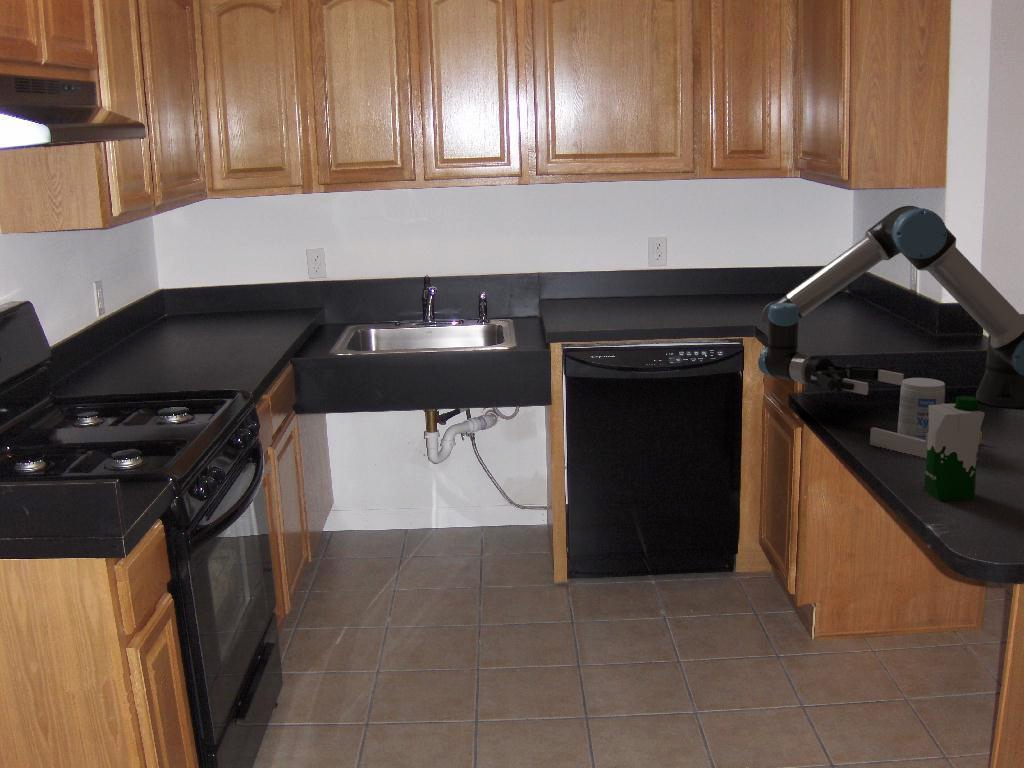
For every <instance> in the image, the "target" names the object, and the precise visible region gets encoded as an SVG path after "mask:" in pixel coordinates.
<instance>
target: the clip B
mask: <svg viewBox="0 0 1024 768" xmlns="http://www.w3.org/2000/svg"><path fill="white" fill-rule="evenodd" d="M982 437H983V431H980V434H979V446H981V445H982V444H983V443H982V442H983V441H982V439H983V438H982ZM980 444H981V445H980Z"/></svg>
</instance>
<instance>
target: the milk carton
mask: <svg viewBox="0 0 1024 768" xmlns="http://www.w3.org/2000/svg"><path fill="white" fill-rule="evenodd" d="M978 403H979V401H978V398H976V396H972V395H957V396H956V397H955V403H944V404H940V405H928V406H929V432H928V446H927V459H925V460H926V461H925V474H924V486H923V489H925V490H924V491H925V492H927V491H928V492H929V494H930V493H931V494H930V495H931V496H933V498H935V499H937V501H940V502H948V501H969V500H975V495H976V480H977V479H976V477H977V467H978V465H977V464H978V455H979V446H980V445H979V434H980V432H981V429H982V428H981V427H982V426H983V425H982V424H983V422H984V421H983V420H984V417H985V412H984V411H982V410H981V409H980V408H979V407H978ZM978 445H979V446H978ZM928 492H927V493H928Z"/></svg>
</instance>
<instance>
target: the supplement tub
mask: <svg viewBox="0 0 1024 768" xmlns="http://www.w3.org/2000/svg"><path fill="white" fill-rule="evenodd" d="M899 394H900V395H899V407H898V408H899V409H898V421H897V432H896V433H899V434H903V435H907V436H911V437H915V438H919V439H923V440H926V433H928V432H929V406H928V405H940V404H945V399H946V398H945V397H946V383H945V382H944V381H942V380H939V379H935V378H926V377H910V378H909V377H908V378H905V379H904V378H903V381H902V385H900V393H899Z"/></svg>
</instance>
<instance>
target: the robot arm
mask: <svg viewBox="0 0 1024 768" xmlns="http://www.w3.org/2000/svg"><path fill="white" fill-rule="evenodd" d="M900 254H902V255H903V256H904V257H905V259H907V260H908V261H909V262H910V264H912V265H913V266H914V268H915V269H916V270H917V271H927V272H928V273H929V274H930V275H931V276H932V277H933V278H934V279H935V280H936V281H937V282H938V283H939V284H940V285H941V286H942V288H943V289H945V291H946V292H948V294H949V295H950V296H951V297H952V298H953V299H954V300H955V301H956V302H957V303H958V304H959V305H960V306H961V307H962V308H963V310H965V311H966V312H967V313H968V314H969V316H971V318H972V319H973V320H974V321H975V322H976V323H977V324H978V325H979V326H980V327H981V328H982V329H983V330H984V331H985V332H986V333H987V334H988V340H987V351H986V352H987V353H986V363H985V372H984V375H983V377H982V379H981V382H980V384H979V387H978V388H977V389H976V393H975V394H976V395H975V397H976V398H978V402H979V401H980V403H981V402H982V404H984V403H985V405H987V406H988V405H989V406H993V407H1001V408H1009V409H1011V408H1012V409H1013V408H1014V409H1024V313H1020V312H1019V311H1017V309H1016V308H1015V307H1014V306H1013V305H1012V304H1011V303H1010V302H1009V301H1008V299H1006V298H1005V297H1004V296H1003V295H1002V294H1001V293H1000V292H999V290H997V288H996V287H995V286H993V284H992V283H991V282H990V281H989V280H988V279H987V278H986V277H985V276H984V275H983V274H982V273H981V271H979V269H977V267H976V266H975V265H973V264H972V263H971V262H970V260H969V259H968V258H967V257H966V256H965V255H964V254H963V253H962V252H961V251H960V250H959V249H958V248H957V237H956V236H955V235H954V234H953V232H951V231H950V230H949V229H948V228H947V226H946V223H945V222H944V220H943V218H942V217H941V216H939V214H937V213H936V212H934V211H933V210H930V209H927V208H922V207H921V208H920V207H918V206H914V205H904V206H900V207H898V208H895V209H894V210H892V211H890V212H889V213H888V214H886V215H885V216H883V218H882V219H880V220H878V222H876V223H875V224H874V225H872V227H870V228H868V229H867V230H866V231H865V235H864V237H863V238H861V239H860V240H859V241H858V242H856V243H855V244H854V245H852V246H851V247H849V248H848V249H847V250H845V251H843V252H842V253H841V254H840V255H838V256H837V257H836V258H834V259H832V260H831V261H830V262H829V263H827V264H826V265H825V266H823V267H822V268H820V269H819V270H818V271H817V272H815V273H814V274H812V275H810V277H808V278H807V279H805V280H804V281H803V282H802V283H800V284H798V285H797V286H796V287H794V288H793V289H792V290H790V291H789V292H787V293H786V294H785V295H784V296H782V297H781V298H779V299H778V300H776V301H775V300H774V301H771V302H770V303H768V304H767V305H765V307H764V309H763V310H762V321H763V325H765V327H766V328H767V331H768V333H767V334H768V335H767V340H768V341H767V343H768V344H767V346H766V347H765V348H763V349H762V350H761V351H760V352H759V357H758V359H757V365H758V366H757V367H758V369H759V371H760V372H761V373H762V374H764V375H765V376H770V377H773V378H775V379H783V380H788V381H793V382H796V383H800V385H802V386H804V385H805V384H806V385H811V386H815V387H819V388H824V389H826V390H828V391H831V392H832V391H835V393H837V394H838V393H839V394H841V393H842V391H846V392H849V393H855V394H859V395H863V396H867V395H869V382H864V381H860V380H877V381H878V382H882V383H888V384H893V385H898V386H902V381H903V380H904V376H905V374H904V373H900V372H895V371H890V370H889V371H888V370H885V367H883V366H882V365H879V366H867V365H866V366H865V365H863V366H862V365H854V364H853V365H851V364H846V363H844V364H843V366H842V365H841V364H835V365H834V363H833V361H832V360H831V359H830V358H829V357H826V356H820V355H815V354H811V353H805V352H804V353H803V352H798V351H799V349H798V347H799V343H798V341H799V324H800V323H799V322H800V321H799V320H800V319H801V320H802V318H803V317H805V316H806V315H807V314H809V313H810V312H812V311H813V310H814V309H816V308H817V307H819V306H820V305H822V303H824V302H826V301H827V300H828V299H830V298H831V297H832V296H834V295H835V294H837V293H838V292H839V291H841V290H843V289H844V288H845V287H847V286H849V285H850V284H851V283H853V281H855V280H857V279H858V278H859V277H861V276H862V275H863V274H865V273H867V271H869V270H870V269H872V268H873V267H875V266H876V265H877V264H879V263H880V262H881V261H890V260H891V259H893V258H894V257H896V256H898V255H900Z"/></svg>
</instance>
